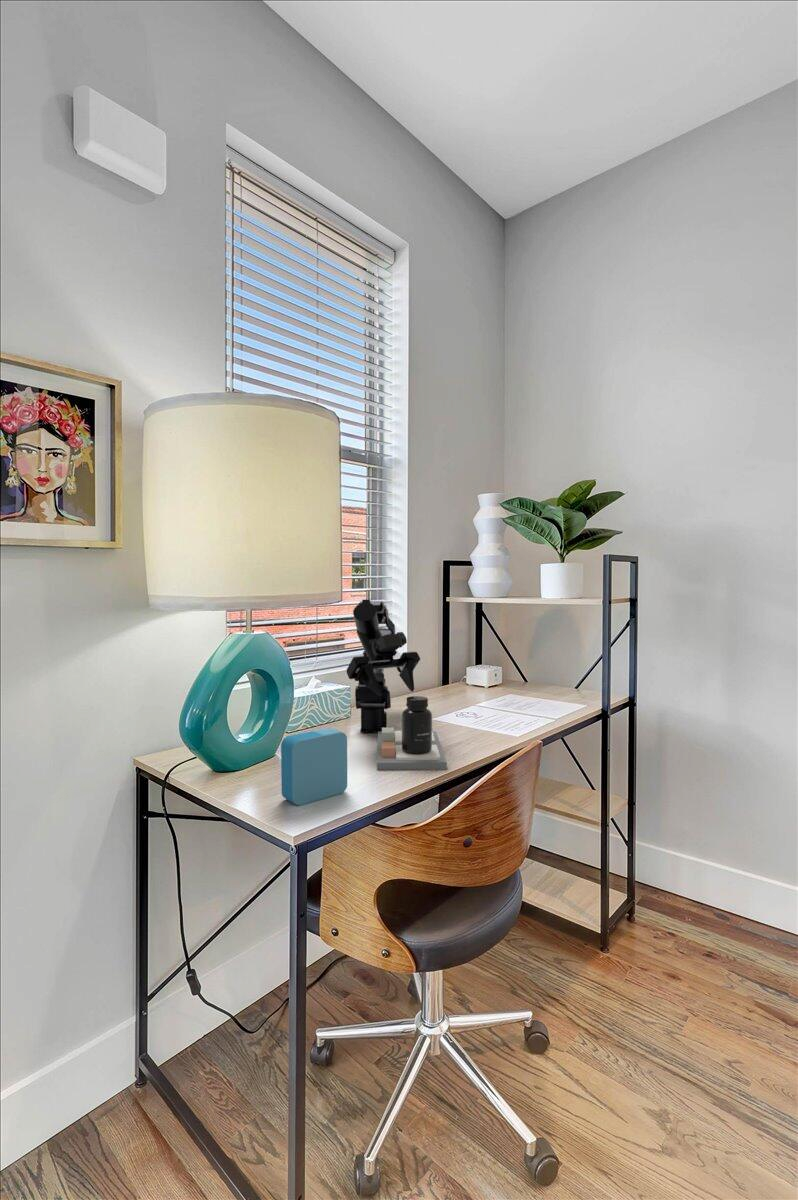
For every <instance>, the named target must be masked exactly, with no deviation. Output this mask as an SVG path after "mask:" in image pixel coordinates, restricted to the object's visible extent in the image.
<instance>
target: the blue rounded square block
mask: <svg viewBox="0 0 798 1200" xmlns="http://www.w3.org/2000/svg"><path fill="white" fill-rule="evenodd" d="M280 758H281V759H280V761H281V764H280V770H281V783H280V784H281V796H282V797H283V798H284V799H285V800H287V801H289V802H291V803H292V804H293V805H296V806H302V805H303V806H304V805H307V804H311V803H313V802H317V801H320V800H324V799H327V798H330V797H335V796H337V795H342V794H344V792H345V791H346V790H347V788H348V737H347V734H346V733H345V732H343V731H341V730H338V729H335V728H331V727H325V728H320V729H316V730H311V731H306V732H305V731H304V732H301V733H297V734H290V735H287V736H285V737H284V738H283V739H282V741H281V744H280Z"/></svg>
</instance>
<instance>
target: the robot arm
mask: <svg viewBox="0 0 798 1200" xmlns="http://www.w3.org/2000/svg"><path fill="white" fill-rule="evenodd" d="M384 603H385V602H383V601H382V600H381V601H377V600H376V601H375V600H374V601H373V600H371V599H362V600H361V601H359V603H358V604H357V605H356V606H355V607H354V609H353V610H352V611H353V612H352V613H353V619H354V623H355V627H356V634H357V637H358V639H359V641H360V643H361V645H362V648H363V652H362V654H363V655H360V656H353V658H351V661H350V662H349V665H348V666H347V667H346V675H347V677H348V679H350V680H354V681H355V682H358V684H357V685H356V686H355V690H354V691H355V695H354V697H355V710H358V709H360V730H359V731H360V733H362V734H366V733H367V734H369V733H371V734H372V733H374V734H378V731H382V728H388V727H387V726H388V725H387V721H388V717H387V716H388V713H387V711H385V710H388V709H391V708H392V706H391V692H390V690H389V688H388V687H389V686H386V685H387V684H386V678H385V674H384V670H385V669H393V668H396V670H397V672H398V673H399V674H398V675H399V677H400V679H402V681H403V683H404V685H405V686H406V688H408V690H409V691H410V692H414V690H415V683H414V670H415V669H416V667H417V665H418V664H419V663H420V661H421V657H420V655H419V653H418V652H417V651H405V652H402V653H401V655H400V657H399V658H394V656H397V655H396V654H397V653H398V652H397V650H398V649H400V648H403V646H405V645H406V644H407V642H408V641H407V637H406V635H405V634H404V631H398V632H396V626H395V625H396V624H395V623H394V622H393V620H391V619H390V617H389V610H388V608H387V606H386V605H385V604H384ZM379 624H380V625H381V624H382V625H383V624H384V625H385V627H386V628H379V626H380V625H379Z"/></svg>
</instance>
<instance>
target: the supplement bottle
mask: <svg viewBox="0 0 798 1200" xmlns="http://www.w3.org/2000/svg"><path fill="white" fill-rule="evenodd" d="M405 704H406V708H405V709H404V710H403V712H401V713H402V715H401V731H402V750H403V751H404V752H406V753H409V754H426V753H429V752H430V751H431V749H432V731H433V713H432V712H431V710H430V709H428V707H429V699H428V697H427V696H420V695H419V696H418V695H414V696H408V697H406V703H405Z"/></svg>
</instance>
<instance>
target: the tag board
mask: <svg viewBox="0 0 798 1200" xmlns="http://www.w3.org/2000/svg"><path fill="white" fill-rule="evenodd" d="M376 748H377V749H376V751H377V755H376V771H384V770H385V771H388V770H391V771H393V770H395V771H397V770H398V771H399V770H400V771H401V769H406V770H447V769H448V768H447V767H448V766H447V760H446V755H445V753H444V750H443V746H442V745H441V740H440V738H439V735H438V732H437V730H432V749H431V751H430V752H429V753H426V754H409V753H406V752H404V751H403V750H402V730H395V727H387V728H382V731H378V733H377V747H376Z"/></svg>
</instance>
